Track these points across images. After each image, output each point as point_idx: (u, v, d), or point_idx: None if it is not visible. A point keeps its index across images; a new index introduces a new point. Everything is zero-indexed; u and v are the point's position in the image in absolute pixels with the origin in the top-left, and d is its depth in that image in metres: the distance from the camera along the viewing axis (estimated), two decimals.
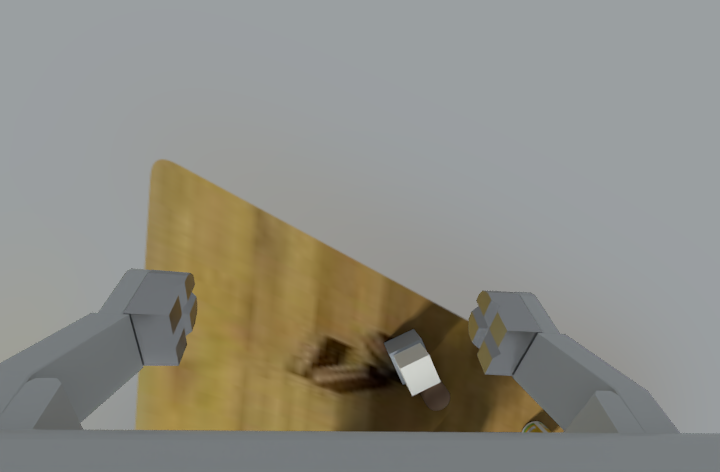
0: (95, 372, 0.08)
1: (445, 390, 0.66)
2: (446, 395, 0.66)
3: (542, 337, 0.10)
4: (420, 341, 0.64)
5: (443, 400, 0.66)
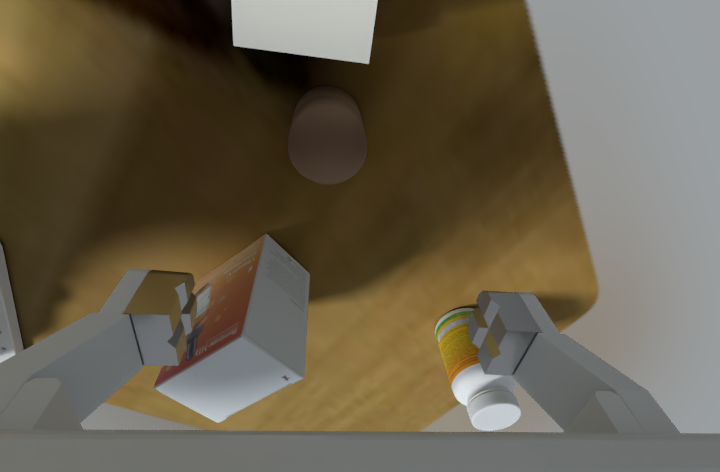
0: (95, 372, 0.08)
1: (360, 141, 0.21)
2: (355, 156, 0.22)
3: (542, 337, 0.10)
4: None
5: (340, 164, 0.22)
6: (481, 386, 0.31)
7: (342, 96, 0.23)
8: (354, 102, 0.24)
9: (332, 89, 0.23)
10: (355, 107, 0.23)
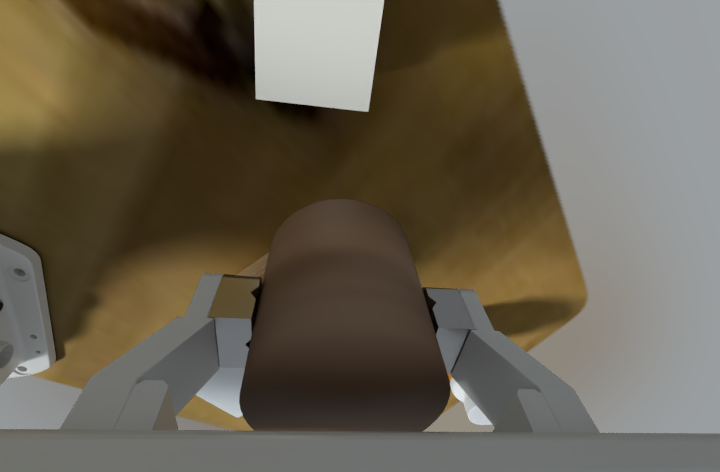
0: (184, 374, 0.08)
1: (433, 387, 0.08)
2: (416, 411, 0.09)
3: (474, 334, 0.09)
4: None
5: (376, 425, 0.09)
6: None
7: (378, 241, 0.10)
8: (401, 238, 0.11)
9: (354, 216, 0.10)
10: (408, 264, 0.10)
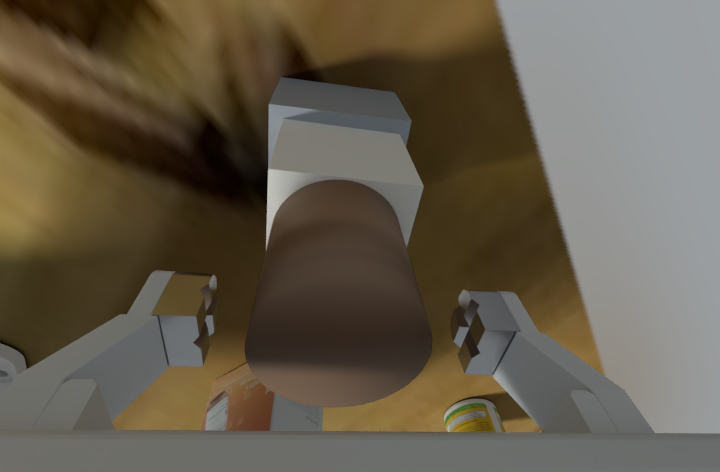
0: (125, 373, 0.08)
1: (417, 338, 0.09)
2: (402, 363, 0.10)
3: (520, 336, 0.09)
4: (402, 128, 0.16)
5: (367, 377, 0.10)
6: None
7: (370, 214, 0.11)
8: (391, 215, 0.12)
9: (348, 193, 0.11)
10: (397, 235, 0.11)
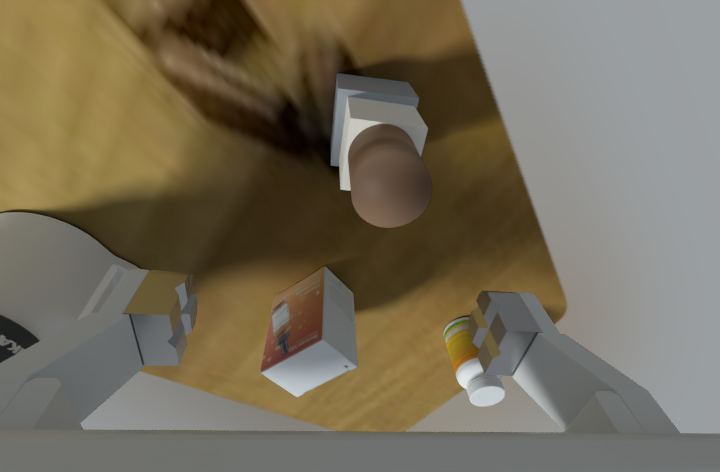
0: (95, 372, 0.08)
1: (425, 187, 0.21)
2: (418, 201, 0.21)
3: (542, 337, 0.10)
4: (413, 102, 0.28)
5: (402, 208, 0.22)
6: (477, 374, 0.43)
7: (403, 137, 0.23)
8: (412, 141, 0.24)
9: (391, 129, 0.23)
10: None
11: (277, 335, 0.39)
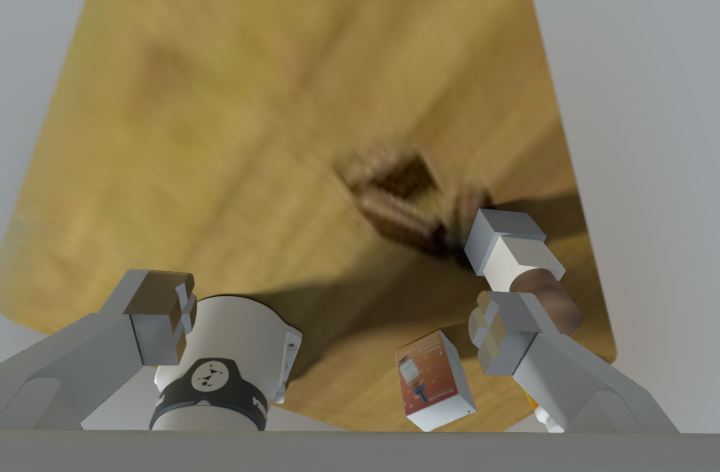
0: (95, 372, 0.08)
1: (578, 319, 0.34)
2: (571, 326, 0.34)
3: (542, 337, 0.10)
4: (542, 238, 0.41)
5: (560, 330, 0.34)
6: None
7: (557, 282, 0.35)
8: (557, 280, 0.37)
9: (547, 274, 0.36)
10: (564, 289, 0.36)
11: (412, 386, 0.51)
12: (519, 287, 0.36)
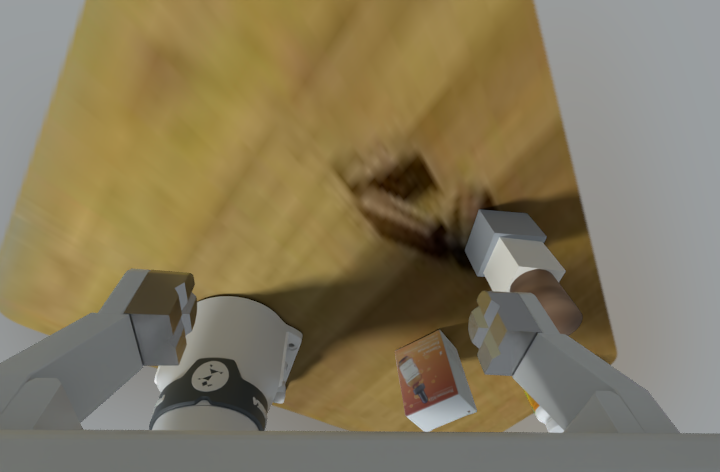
0: (95, 372, 0.08)
1: (578, 320, 0.34)
2: (571, 327, 0.34)
3: (542, 337, 0.10)
4: (542, 239, 0.41)
5: (560, 331, 0.35)
6: None
7: (557, 283, 0.35)
8: (557, 281, 0.37)
9: (547, 275, 0.36)
10: (564, 290, 0.36)
11: (412, 386, 0.51)
12: (519, 288, 0.36)
